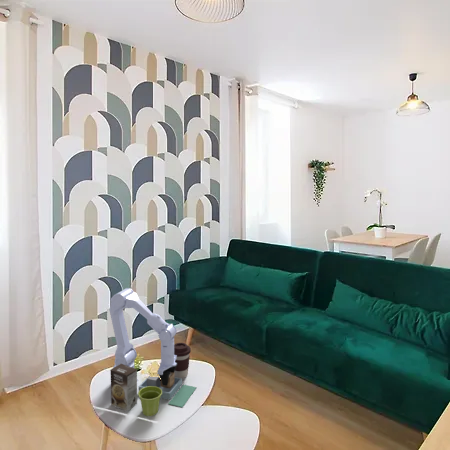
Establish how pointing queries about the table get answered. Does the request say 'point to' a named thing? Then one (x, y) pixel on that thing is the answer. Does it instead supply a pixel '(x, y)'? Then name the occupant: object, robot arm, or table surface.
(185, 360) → the coffee cup
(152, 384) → the plain block
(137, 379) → the robot arm
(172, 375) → the labelled block
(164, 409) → the table surface
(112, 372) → the coffee box
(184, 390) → the mat
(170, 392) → the bin
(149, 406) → the plant pot
